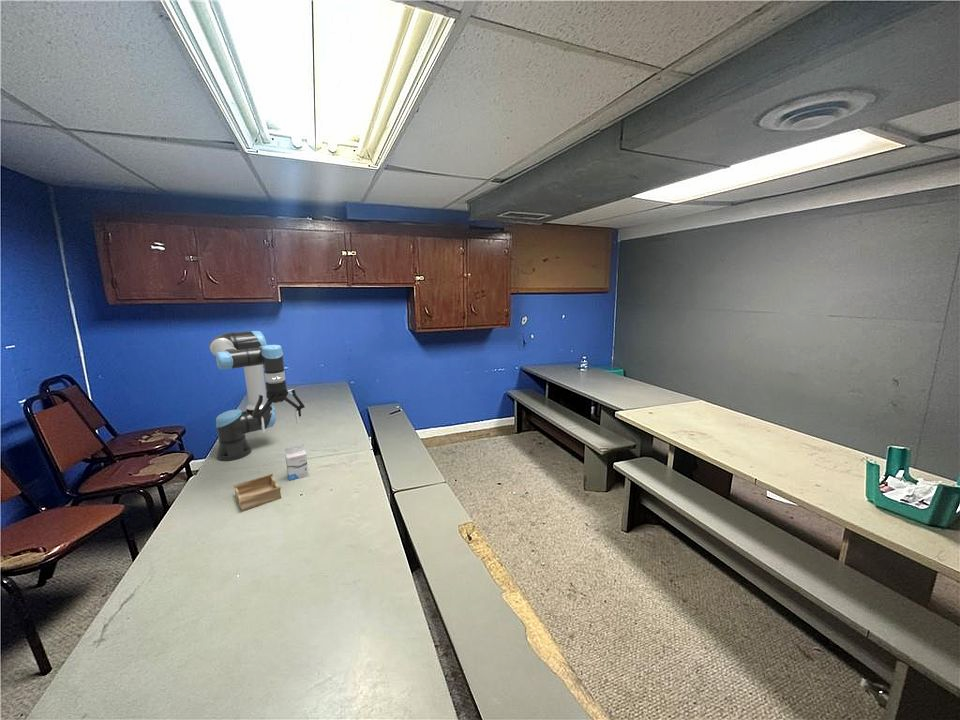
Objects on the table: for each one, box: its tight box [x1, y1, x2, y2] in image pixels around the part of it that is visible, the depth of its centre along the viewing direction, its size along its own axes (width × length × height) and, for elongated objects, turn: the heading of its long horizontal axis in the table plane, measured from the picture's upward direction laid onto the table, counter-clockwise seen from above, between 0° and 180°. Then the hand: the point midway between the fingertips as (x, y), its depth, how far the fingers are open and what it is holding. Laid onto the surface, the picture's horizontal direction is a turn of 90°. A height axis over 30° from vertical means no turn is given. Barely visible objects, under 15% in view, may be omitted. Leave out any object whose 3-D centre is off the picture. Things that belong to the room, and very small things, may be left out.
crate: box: [233, 473, 282, 513], centre depth 157 cm, size 15×15×5 cm
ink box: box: [284, 444, 309, 481], centre depth 173 cm, size 8×5×15 cm, turn 123°
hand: (281, 427), depth 161 cm, fingers open, 13 cm apart
